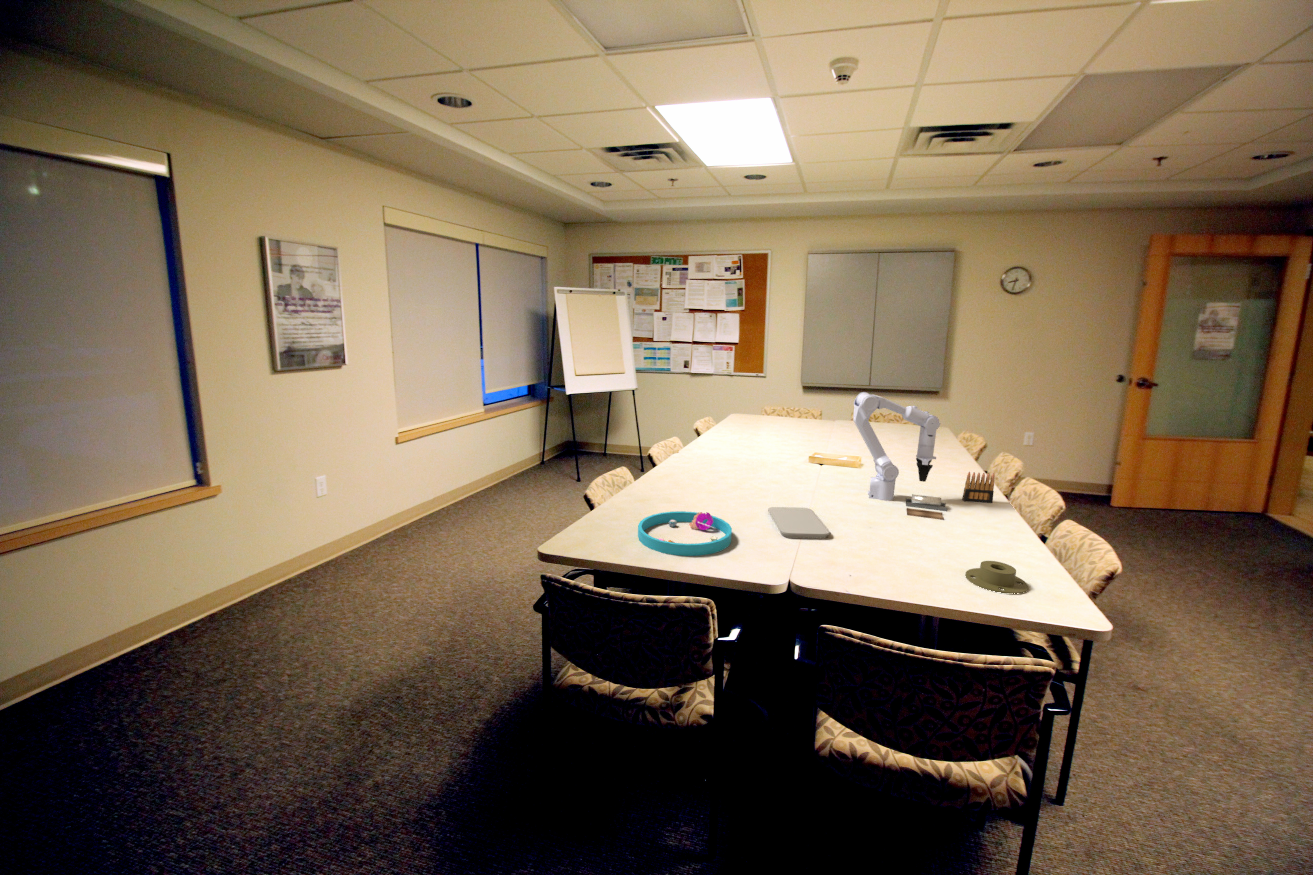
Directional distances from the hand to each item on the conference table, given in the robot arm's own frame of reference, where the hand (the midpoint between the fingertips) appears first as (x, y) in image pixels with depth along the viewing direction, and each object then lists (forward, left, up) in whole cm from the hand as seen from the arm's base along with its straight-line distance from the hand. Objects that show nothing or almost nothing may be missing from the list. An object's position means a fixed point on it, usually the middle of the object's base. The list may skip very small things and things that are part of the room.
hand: (922, 478), depth 225 cm
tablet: (-41, -47, -10) cm, 63 cm away
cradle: (+2, -8, -9) cm, 13 cm away
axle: (+2, -8, -8) cm, 12 cm away
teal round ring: (-73, -74, -10) cm, 105 cm away
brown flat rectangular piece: (+1, -19, -9) cm, 21 cm away
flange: (+16, -69, -10) cm, 72 cm away
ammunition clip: (+22, +11, -10) cm, 26 cm away
